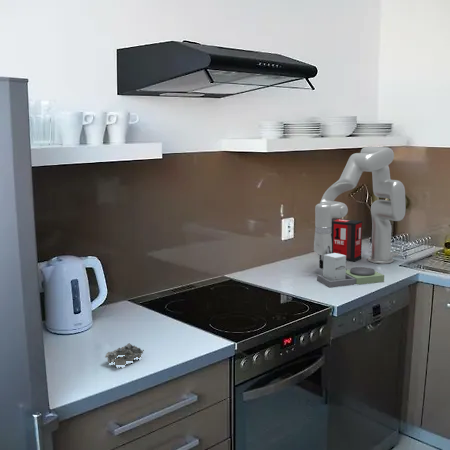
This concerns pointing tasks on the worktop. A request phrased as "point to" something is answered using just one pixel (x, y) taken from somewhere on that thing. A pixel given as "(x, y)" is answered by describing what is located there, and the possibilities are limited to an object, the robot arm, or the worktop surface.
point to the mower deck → (354, 277)
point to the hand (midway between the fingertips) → (323, 268)
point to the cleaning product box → (347, 238)
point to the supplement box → (334, 266)
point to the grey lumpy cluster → (127, 350)
